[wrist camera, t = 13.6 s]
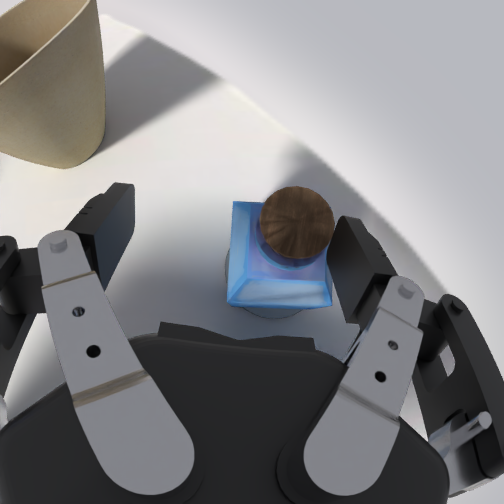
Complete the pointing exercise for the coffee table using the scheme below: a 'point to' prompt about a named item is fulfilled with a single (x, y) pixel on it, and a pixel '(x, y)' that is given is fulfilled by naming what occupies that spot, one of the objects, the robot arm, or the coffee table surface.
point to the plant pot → (51, 82)
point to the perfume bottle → (281, 251)
